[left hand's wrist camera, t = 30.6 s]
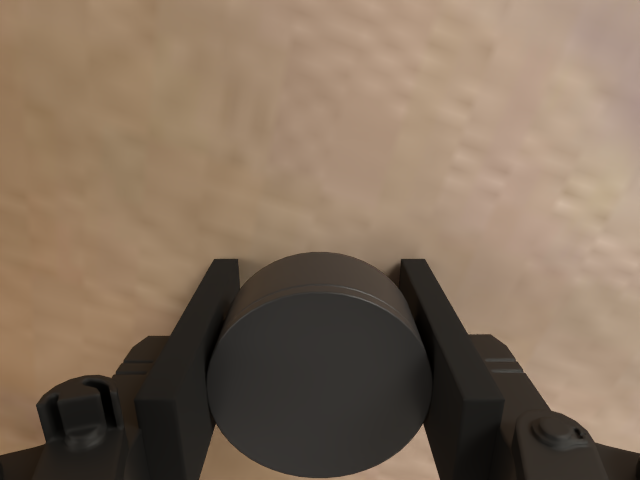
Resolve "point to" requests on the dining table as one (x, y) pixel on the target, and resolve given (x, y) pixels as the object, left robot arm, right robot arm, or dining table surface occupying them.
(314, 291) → the lid
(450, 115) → the dining table surface
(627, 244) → the dining table surface
